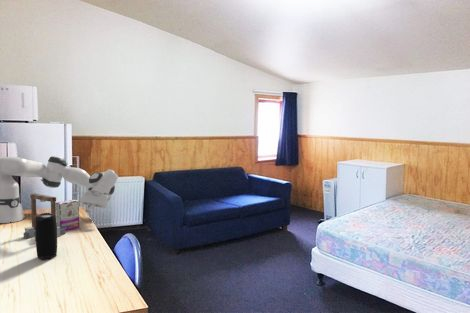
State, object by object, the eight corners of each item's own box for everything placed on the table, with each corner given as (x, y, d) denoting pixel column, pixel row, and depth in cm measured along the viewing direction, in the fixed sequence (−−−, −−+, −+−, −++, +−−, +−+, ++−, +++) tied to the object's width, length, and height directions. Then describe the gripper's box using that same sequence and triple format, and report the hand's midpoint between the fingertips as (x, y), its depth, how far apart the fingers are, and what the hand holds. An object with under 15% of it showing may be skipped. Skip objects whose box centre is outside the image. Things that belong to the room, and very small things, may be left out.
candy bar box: (75, 226, 210) (74, 199, 209) (79, 228, 207) (79, 200, 206) (56, 231, 201) (55, 202, 200) (60, 232, 198) (59, 203, 197)
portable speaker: (37, 262, 157) (35, 218, 155) (35, 255, 165) (34, 213, 163) (58, 258, 161) (57, 216, 160) (56, 252, 169) (55, 211, 168)
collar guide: (22, 238, 188) (21, 228, 188) (50, 230, 202) (50, 221, 202) (38, 242, 182) (38, 233, 181) (66, 234, 196) (66, 225, 195)
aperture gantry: (31, 234, 195) (29, 194, 193) (36, 233, 197) (34, 193, 195) (52, 240, 186) (51, 198, 184) (57, 238, 189) (56, 197, 187)
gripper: (115, 197, 220) (103, 216, 212) (92, 193, 230) (79, 211, 222) (109, 191, 216) (96, 210, 208) (86, 187, 225) (73, 206, 218)
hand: (87, 211), depth 215 cm, fingers closed
